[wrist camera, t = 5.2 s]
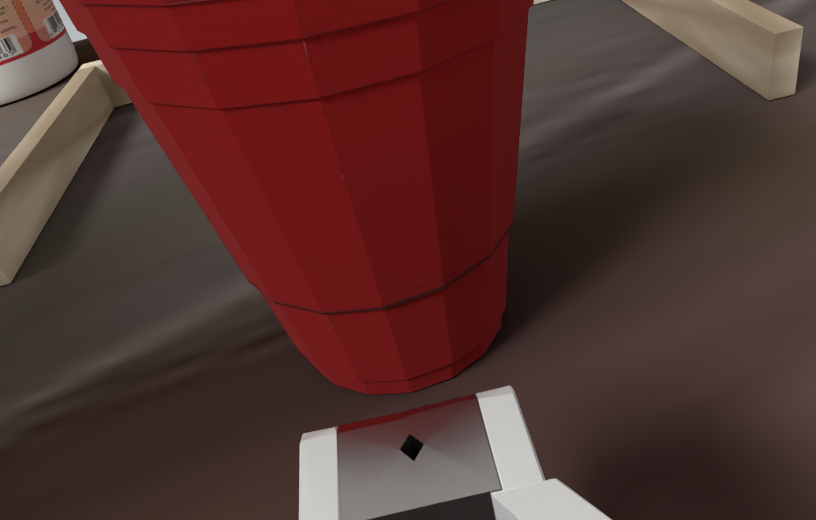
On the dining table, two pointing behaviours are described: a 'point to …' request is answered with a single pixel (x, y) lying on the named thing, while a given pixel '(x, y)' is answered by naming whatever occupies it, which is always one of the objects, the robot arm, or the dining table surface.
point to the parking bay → (661, 3)
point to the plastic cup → (342, 161)
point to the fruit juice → (32, 48)
